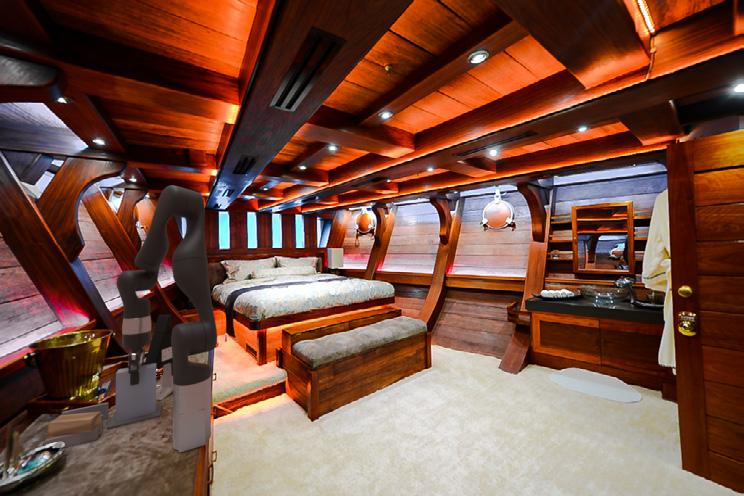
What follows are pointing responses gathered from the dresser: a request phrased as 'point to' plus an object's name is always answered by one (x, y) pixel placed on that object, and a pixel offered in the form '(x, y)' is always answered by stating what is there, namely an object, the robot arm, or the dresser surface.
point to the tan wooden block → (85, 436)
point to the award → (162, 354)
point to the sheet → (135, 393)
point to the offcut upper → (74, 423)
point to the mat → (134, 418)
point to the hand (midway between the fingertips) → (136, 379)
